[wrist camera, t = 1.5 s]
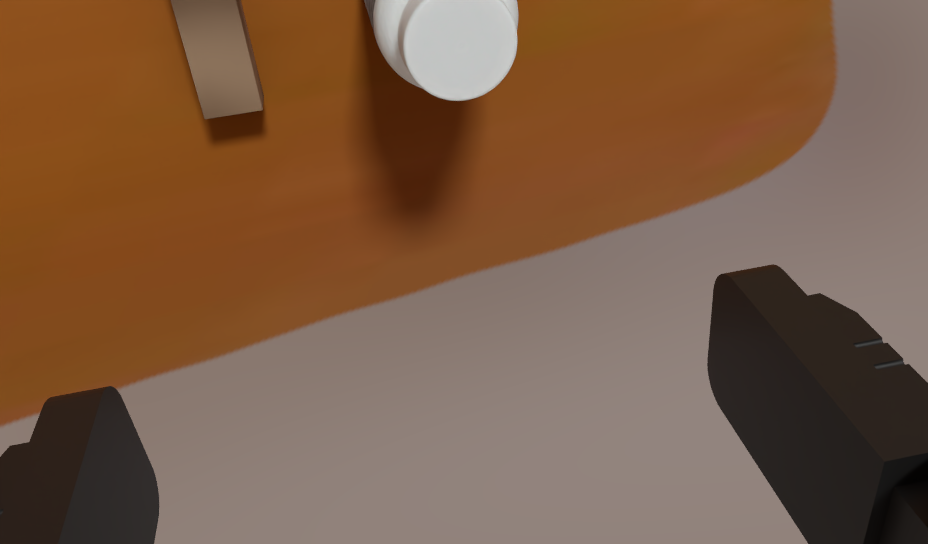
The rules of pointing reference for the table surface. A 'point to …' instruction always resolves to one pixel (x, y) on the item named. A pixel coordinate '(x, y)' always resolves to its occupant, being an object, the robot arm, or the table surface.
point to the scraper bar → (219, 56)
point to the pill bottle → (447, 43)
